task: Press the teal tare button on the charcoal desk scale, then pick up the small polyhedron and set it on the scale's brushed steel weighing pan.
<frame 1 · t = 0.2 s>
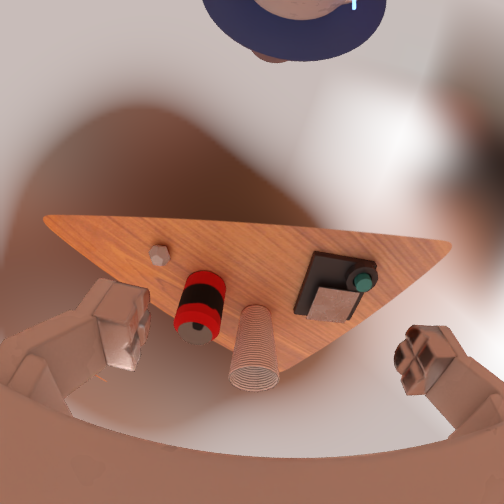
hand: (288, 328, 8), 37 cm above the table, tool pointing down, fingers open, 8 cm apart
tare button: (363, 282, 49), point 4 cm above the table, slide at 0.1 cm
cup: (256, 314, 59), on the table
soda can: (206, 285, 56), on the table
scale: (333, 286, 55), on the table
polyhedron: (162, 249, 52), on the table
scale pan: (332, 305, 53), resting on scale
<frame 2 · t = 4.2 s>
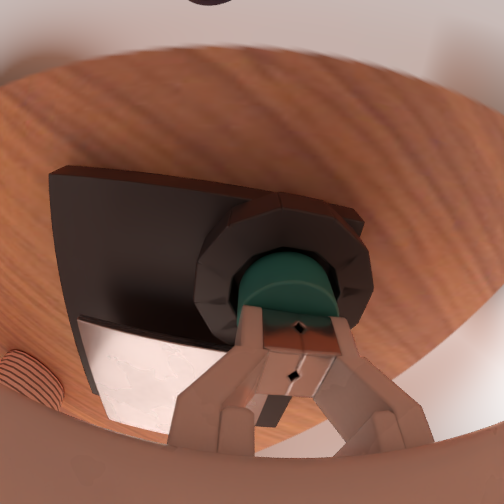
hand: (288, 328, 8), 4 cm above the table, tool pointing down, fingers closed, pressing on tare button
tare button: (286, 306, 9), point 3 cm above the table, slide at 0.1 cm, touching gripper
cup: (36, 373, 18), on the table
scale: (187, 322, 14), on the table
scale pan: (175, 394, 12), resting on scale
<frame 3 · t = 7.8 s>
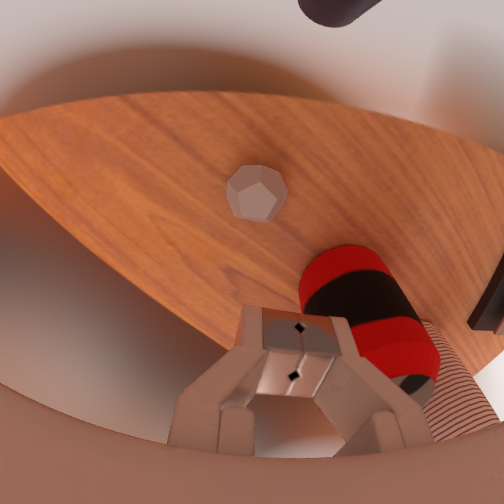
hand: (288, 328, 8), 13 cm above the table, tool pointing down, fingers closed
cup: (410, 339, 27), on the table
soda can: (342, 283, 24), on the table
polyhedron: (256, 186, 20), on the table
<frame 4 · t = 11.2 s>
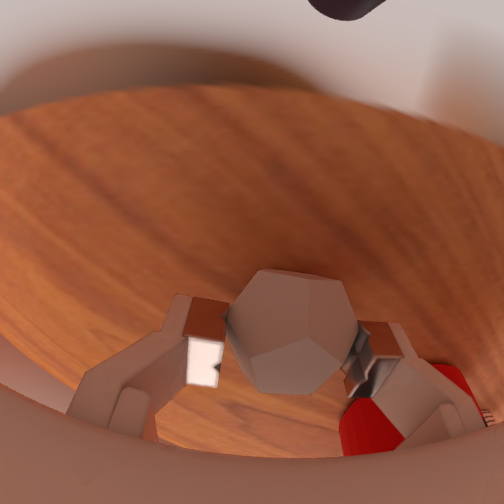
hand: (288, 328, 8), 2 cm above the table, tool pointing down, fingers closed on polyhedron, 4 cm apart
soda can: (401, 401, 14), on the table
polyhedron: (284, 293, 10), on the table, touching gripper
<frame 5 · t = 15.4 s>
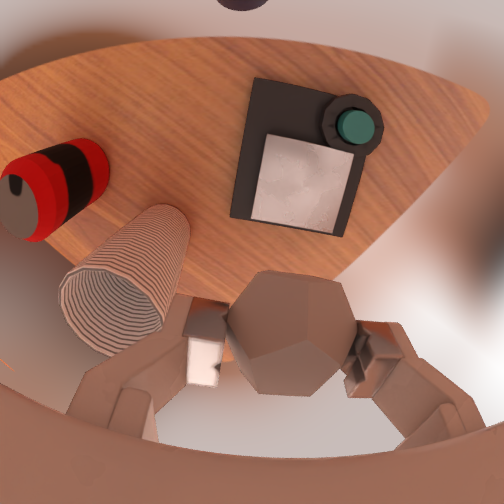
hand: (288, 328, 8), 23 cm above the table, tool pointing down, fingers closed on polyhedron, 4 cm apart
tare button: (355, 126, 23), point 4 cm above the table, slide at 0.1 cm
cup: (165, 228, 32), on the table
soda can: (83, 170, 29), on the table
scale: (301, 158, 28), on the table
polyhedron: (284, 294, 10), point 21 cm above the table, touching gripper
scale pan: (301, 184, 27), resting on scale
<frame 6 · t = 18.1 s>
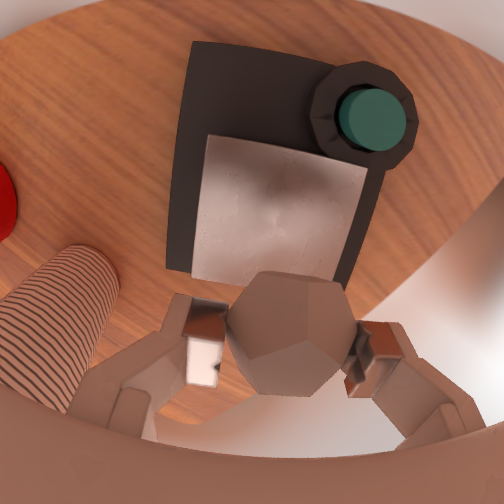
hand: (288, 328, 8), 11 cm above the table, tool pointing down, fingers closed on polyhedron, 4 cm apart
tare button: (372, 118, 12), point 4 cm above the table, slide at 0.1 cm
cup: (89, 275, 21), on the table
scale: (278, 173, 17), on the table
polyhedron: (283, 295, 10), point 9 cm above the table, touching gripper
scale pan: (274, 222, 16), resting on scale
when the fingers open (5 cm above the table, at t = 19.8 s): polyhedron stays where it is, resting on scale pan.
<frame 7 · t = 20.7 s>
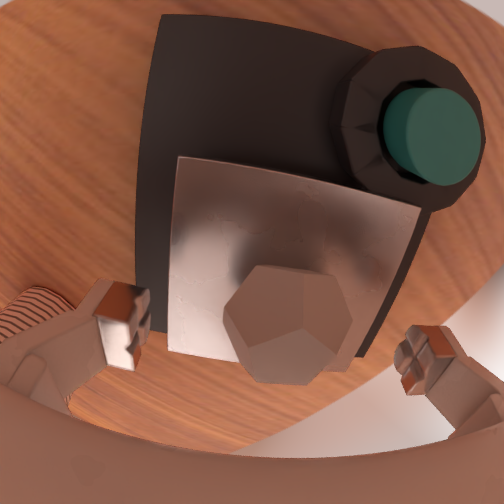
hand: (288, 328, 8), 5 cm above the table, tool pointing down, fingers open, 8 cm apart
tare button: (433, 133, 7), point 4 cm above the table, slide at 0.1 cm
cup: (55, 320, 16), on the table
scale: (286, 205, 12), on the table
polyhedron: (281, 288, 10), point 3 cm above the table, touching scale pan
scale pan: (281, 284, 11), resting on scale
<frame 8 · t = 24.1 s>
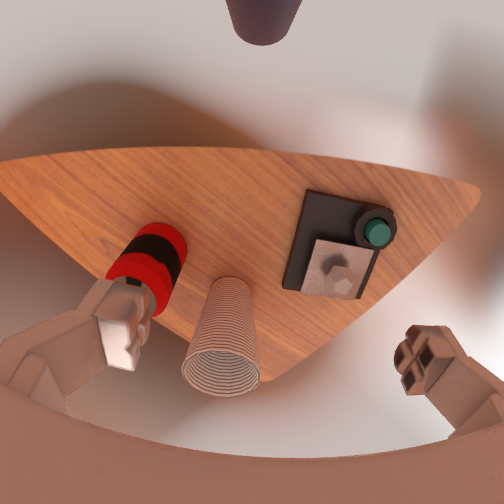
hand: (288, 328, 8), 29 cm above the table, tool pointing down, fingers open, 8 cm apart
tare button: (377, 232, 35), point 4 cm above the table, slide at 0.1 cm
cup: (230, 292, 43), on the table
soda can: (161, 246, 40), on the table
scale: (335, 246, 40), on the table
polyhedron: (336, 271, 38), point 3 cm above the table, touching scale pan
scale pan: (336, 270, 38), resting on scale
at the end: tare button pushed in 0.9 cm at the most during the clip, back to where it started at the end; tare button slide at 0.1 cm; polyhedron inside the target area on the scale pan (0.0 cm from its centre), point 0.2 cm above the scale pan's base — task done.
